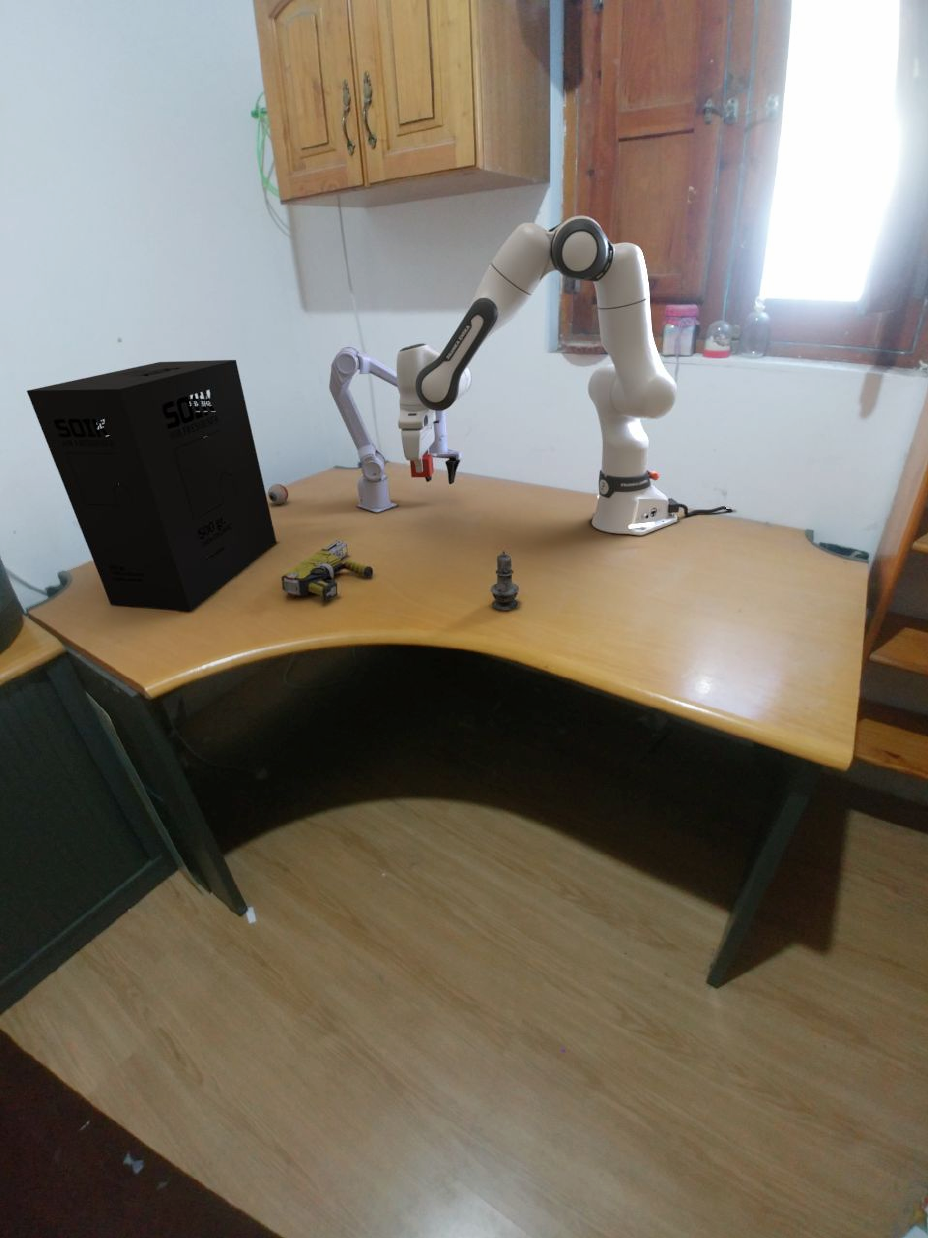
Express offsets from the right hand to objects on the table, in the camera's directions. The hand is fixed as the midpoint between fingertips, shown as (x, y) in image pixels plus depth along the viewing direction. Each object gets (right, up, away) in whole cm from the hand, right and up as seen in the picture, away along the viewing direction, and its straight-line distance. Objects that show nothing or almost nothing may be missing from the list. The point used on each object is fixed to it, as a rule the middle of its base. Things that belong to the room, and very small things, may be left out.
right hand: (422, 468), depth 159 cm
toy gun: (-18, -31, -20) cm, 41 cm away
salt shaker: (+19, -37, -35) cm, 54 cm away
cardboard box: (-53, -28, -13) cm, 61 cm away
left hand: (+4, +1, +19) cm, 20 cm away
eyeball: (-47, -4, +29) cm, 55 cm away
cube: (0, -1, +1) cm, 2 cm away
